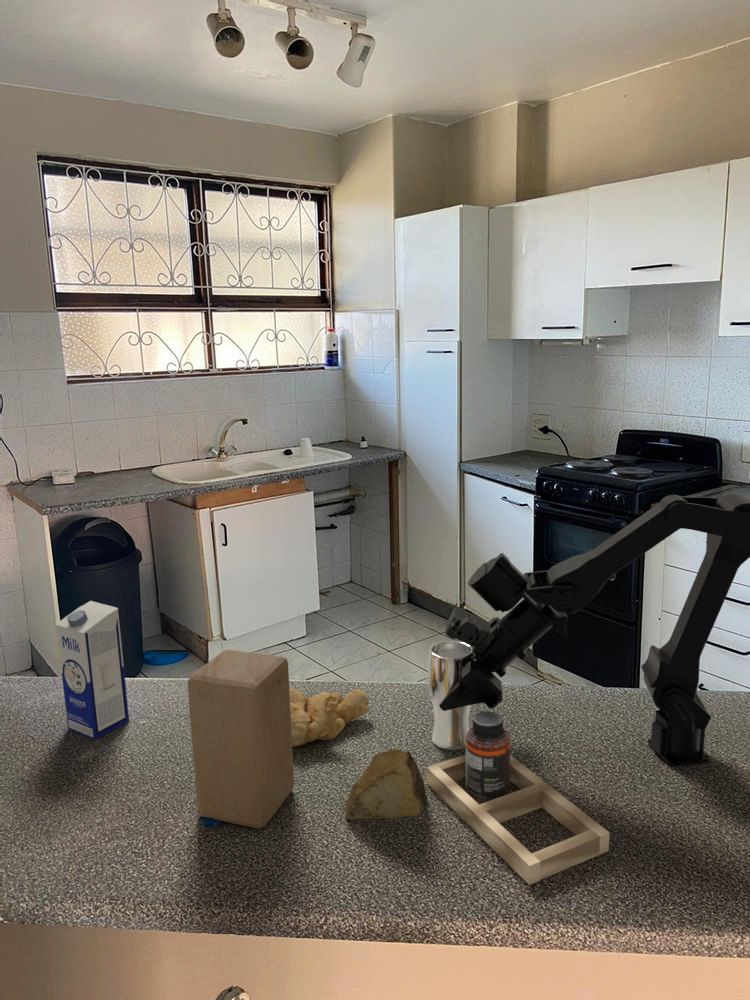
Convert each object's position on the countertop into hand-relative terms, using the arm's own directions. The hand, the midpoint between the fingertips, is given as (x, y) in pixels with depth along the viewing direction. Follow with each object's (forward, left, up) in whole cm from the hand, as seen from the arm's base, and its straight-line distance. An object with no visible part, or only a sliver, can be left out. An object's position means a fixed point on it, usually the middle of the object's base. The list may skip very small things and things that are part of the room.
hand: (442, 697), depth 114 cm
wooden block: (+30, +10, -7) cm, 32 cm away
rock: (+12, +15, -7) cm, 21 cm away
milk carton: (+54, -16, -7) cm, 56 cm away
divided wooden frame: (-4, +20, -7) cm, 21 cm away
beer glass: (-1, 0, -7) cm, 7 cm away
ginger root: (+20, -7, -7) cm, 22 cm away
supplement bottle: (-3, +15, -7) cm, 17 cm away
